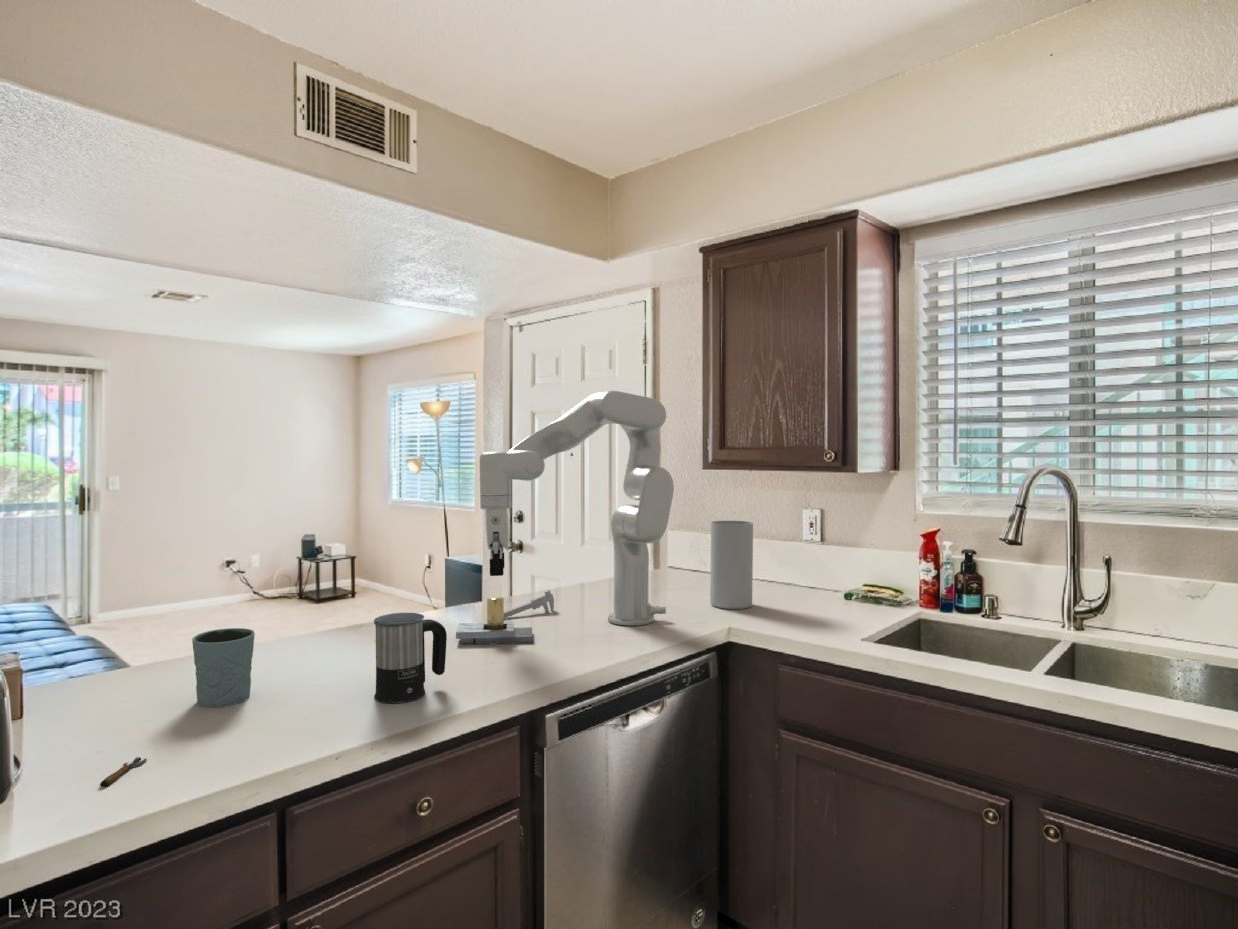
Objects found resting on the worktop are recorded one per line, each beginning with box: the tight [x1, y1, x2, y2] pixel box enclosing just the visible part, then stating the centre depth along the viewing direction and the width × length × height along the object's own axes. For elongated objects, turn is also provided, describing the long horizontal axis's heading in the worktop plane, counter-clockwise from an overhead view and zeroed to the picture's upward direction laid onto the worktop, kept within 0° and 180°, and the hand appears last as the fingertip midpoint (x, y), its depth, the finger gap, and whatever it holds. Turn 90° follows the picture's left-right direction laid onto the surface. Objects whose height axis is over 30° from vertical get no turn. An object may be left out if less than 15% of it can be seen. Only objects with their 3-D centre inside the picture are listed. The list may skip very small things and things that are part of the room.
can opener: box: [99, 756, 148, 788], centre depth 102 cm, size 9×2×1 cm, turn 179°
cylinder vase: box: [709, 520, 754, 610], centre depth 215 cm, size 12×12×25 cm
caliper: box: [504, 589, 555, 619], centre depth 200 cm, size 20×1×6 cm, turn 131°
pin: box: [486, 596, 505, 630], centre depth 175 cm, size 4×4×10 cm
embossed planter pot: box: [191, 627, 256, 708], centre depth 132 cm, size 10×10×12 cm
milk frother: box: [373, 612, 448, 704], centre depth 138 cm, size 14×16×15 cm
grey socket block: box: [455, 621, 533, 645], centre depth 175 cm, size 18×9×3 cm, turn 98°
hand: (497, 571), depth 175 cm, fingers open, 9 cm apart
